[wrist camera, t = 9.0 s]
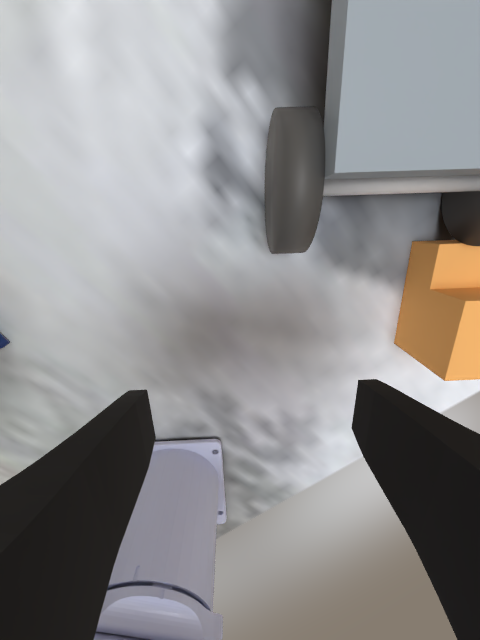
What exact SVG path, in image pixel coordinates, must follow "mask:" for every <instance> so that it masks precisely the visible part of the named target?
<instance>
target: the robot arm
mask: <svg viewBox="0 0 480 640" xmlns="http://www.w3.org/2000/svg"><path fill="white" fill-rule="evenodd" d="M352 430H353V432H354V435H355V437H356V440H357V442H358V445H359V447H360V449H361V452H362V454H363V456H364V458H365V460H366V462H367V464H368V465H369V467H370V469H371V471H372V472H373V474H374V475H375V478H376V479H377V481H378V483H379V485H380V486H381V488H382V490H383V492H384V493H385V495H386V497H387V499H388V500H389V502H390V504H391V505H392V507H393V509H394V511H395V512H396V514H397V516H398V518H399V519H400V521H401V523H402V525H403V526H404V528H405V530H406V532H407V533H408V535H409V537H410V539H411V541H412V543H413V545H414V547H415V549H416V550H417V552H418V555H419V557H420V559H421V561H422V563H423V565H424V567H425V570H426V571H427V573H428V576H429V578H430V580H431V582H432V584H433V586H434V589H435V591H436V593H437V595H438V597H439V599H440V602H441V604H442V606H443V608H444V610H445V613H446V615H447V617H448V619H449V622H450V624H451V626H452V628H453V631H454V633H455V635H456V637H457V640H480V434H478V433H476V432H474V431H472V430H470V429H468V428H466V427H464V426H462V425H460V424H458V423H457V422H454V421H453V420H451V419H449V418H447V417H445V416H443V415H442V414H440V413H438V412H436V411H434V410H432V409H431V408H429V407H427V406H425V405H423V404H422V403H420V402H418V401H416V400H414V399H413V398H411V397H409V396H407V395H405V394H404V393H402V392H400V391H398V390H396V389H395V388H393V387H391V386H389V385H387V384H385V383H383V382H381V381H379V380H377V379H371V380H358V387H357V394H356V401H355V408H354V415H353V423H352ZM155 438H156V437H155V432H154V426H153V420H152V415H151V409H150V404H149V398H148V393H147V390H131V391H128V392H126V393H125V394H123V395H122V396H121V397H120V398H118V399H117V400H116V401H114V402H113V403H112V404H111V405H109V406H108V407H107V408H106V409H105V410H103V411H102V412H101V413H100V414H98V415H97V416H96V417H95V418H93V419H92V420H91V421H89V422H88V423H87V424H86V425H84V426H83V427H82V428H81V429H79V430H78V431H77V432H76V433H74V434H73V435H72V436H70V437H69V438H67V439H66V440H65V441H63V442H62V443H61V444H59V445H58V446H57V447H55V448H54V449H53V450H51V451H50V452H48V453H47V454H46V455H44V456H43V457H42V458H40V459H39V460H37V461H36V462H35V463H33V464H32V465H30V466H29V467H27V468H26V469H24V470H23V471H21V472H20V473H18V474H17V475H15V476H14V477H12V478H11V479H9V480H8V481H6V482H4V483H3V484H1V485H0V640H222V638H223V616H222V615H221V614H217V613H214V612H213V595H214V594H213V593H214V574H215V573H214V572H215V552H216V531H217V524H224V523H225V522H226V520H227V515H226V501H225V487H224V473H223V459H222V445H221V441H220V440H218V439H201V440H181V441H161V442H155ZM215 450H216V451H215Z"/></svg>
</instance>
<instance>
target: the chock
mask: <svg viewBox="0 0 480 640" xmlns="http://www.w3.org/2000/svg"><path fill="white" fill-rule="evenodd" d="M394 344H396V345H397V346H398V347H400V348H401V349H402V350H404V351H405V352H407V353H408V354H409V355H411V356H412V357H413V358H415V359H416V360H417V361H419V362H420V363H421V364H423V365H424V366H425V367H427V368H428V369H429V370H431V371H432V372H433V373H435V374H436V375H437V376H439V377H440V378H442V379H443V380H444V381H451V380H473V379H480V246H470V245H466V244H463V243H461V242H459V241H458V240H436V241H412V247H411V252H410V258H409V263H408V269H407V274H406V280H405V285H404V291H403V297H402V302H401V308H400V313H399V319H398V324H397V330H396V335H395V341H394Z"/></svg>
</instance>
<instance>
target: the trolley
mask: <svg viewBox="0 0 480 640" xmlns="http://www.w3.org/2000/svg"><path fill="white" fill-rule="evenodd" d="M434 192H443V195H442V215H443V219H444V223H445V225H446V228H447V229H448V231H449V233H450V234H451V235H452V236H453V237H454V238H455V239H456V240H458V241H459V242H461V243H463V244H466V245H470V246H480V0H332V7H331V23H330V38H329V54H328V69H327V85H326V100H325V116H324V128H323V122H322V118H321V115H320V112H319V111H318V109H317V108H316V107H279V108H275V109H274V111H273V113H272V117H271V121H270V126H269V133H268V141H267V151H266V166H265V221H266V233H267V240H268V246H269V249H270V252H271V253H272V254H279V253H303V252H305V251H306V250H307V249H308V248H309V247H310V245H311V243H312V240H313V238H314V235H315V232H316V229H317V225H318V221H319V216H320V211H321V205H322V199H323V196H341V195H372V194H403V193H434Z"/></svg>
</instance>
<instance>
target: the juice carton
mask: <svg viewBox="0 0 480 640" xmlns="http://www.w3.org/2000/svg"><path fill="white" fill-rule="evenodd" d="M9 343H10V341H9V340H7V339H6V338H5V337H4V336H3V335H2V334H1V333H0V350H1V349H2V348H3V347H5V346H6V345H7V344H9Z"/></svg>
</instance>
